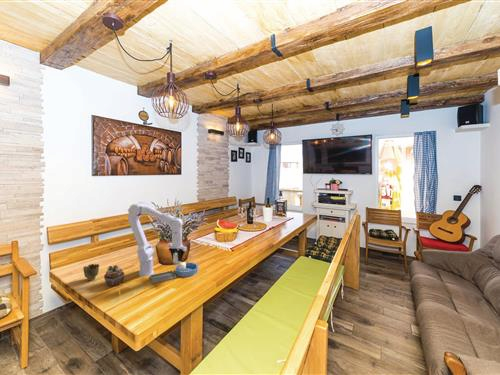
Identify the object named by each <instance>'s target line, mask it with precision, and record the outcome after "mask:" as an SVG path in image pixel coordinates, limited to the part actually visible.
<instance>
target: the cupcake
mask: <svg viewBox="0 0 500 375" xmlns="http://www.w3.org/2000/svg"><path fill="white" fill-rule="evenodd" d="M124 276H125V272H124V271H123V269H122V268H120V266H118V265H110V266H108V267H107V271H106V272H105V274H104V276H103V278H104V282H105V285H106V287H108V288H111V287H117V286H119V285H121V284H122V283H123V282H124Z"/></svg>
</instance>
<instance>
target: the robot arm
mask: <svg viewBox="0 0 500 375" xmlns="http://www.w3.org/2000/svg"><path fill="white" fill-rule="evenodd" d="M127 211H128V217H127V220H128V223H129V225H130V228H131V231H132V233H133V235H134V236H133V237H134V239H135V240H136V244H137V252H136V253H137V259H138V260H139V270H138V273H139V278H142V277H147V276H150V275H154V274H155V271H154V265H153V264H154V263H153V261H154V257H153V255H155V248H154V247H153V246H152V244H151V243H150V242H148V240H147V237H146V234H145V232H144V229H143V227H142V224H141V222H140V218H141V216H142V215H144V214H149V215H151V216H153V217H156V218H158V219H160V222H161V223H163V224H165V225H168V226H170V227H171V229H172V230H171V232H172V233H171V236H172V238H171V242H169V243H167V247H168V251H169V253H170V255H171V257H172V259H173V254H174V253H177V255H178V261H181V262H183V257H184V254H185V252H186V251H187V250H188V247H187V246H185V245H183V225H184V221H183V219H181V218H180V217H177V216H172V215H171V214H170V213H169V212H164V213H163V212H161V211H159V210H158V209H156V208H154V207H152V206H150V205H149V204H148V203H145V202H138V203H135V204H131V205H130V206H129V208H128V209H127Z"/></svg>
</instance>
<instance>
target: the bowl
mask: <svg viewBox="0 0 500 375" xmlns="http://www.w3.org/2000/svg"><path fill="white" fill-rule="evenodd" d="M185 263H186V271H180V270H179V264H176V266H175V269H174V270H175V271H174V274H175V276H177V277H182V278H185V277H186V278H187V277H188V278H189V277H192V276H195V275H196V274H197V273H198V272H199V265H198V264H197V263H195V262H188V261H187V262H185Z"/></svg>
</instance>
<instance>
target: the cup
mask: <svg viewBox="0 0 500 375" xmlns="http://www.w3.org/2000/svg"><path fill="white" fill-rule="evenodd" d="M82 270H83V274H84V277H85V278H86V279H87V280H88V281H94V280H95V279H96V277H97V276H98V274H99V270H100V264H99V263H97V264H96V263H94V264H93V263H91V264H88V265H87V266H86V265H85V266H83V268H82Z"/></svg>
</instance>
